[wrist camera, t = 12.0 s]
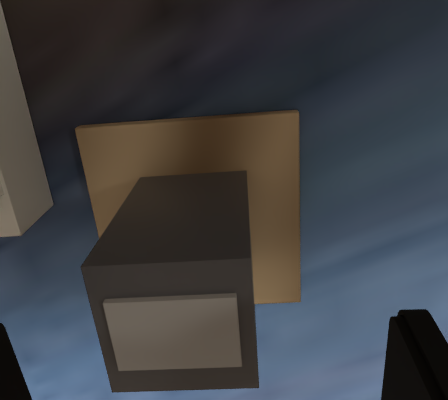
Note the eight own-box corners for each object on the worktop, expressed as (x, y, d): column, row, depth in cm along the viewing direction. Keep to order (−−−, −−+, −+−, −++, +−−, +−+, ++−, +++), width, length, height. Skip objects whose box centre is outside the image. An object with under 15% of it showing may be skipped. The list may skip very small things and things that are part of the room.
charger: (140, 177, 17) (77, 271, 11) (246, 170, 17) (251, 262, 10) (155, 268, 19) (110, 397, 12) (252, 263, 19) (259, 393, 12)
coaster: (297, 109, 17) (299, 112, 16) (298, 294, 20) (300, 302, 19) (80, 125, 17) (74, 128, 17) (118, 302, 21) (115, 309, 20)
